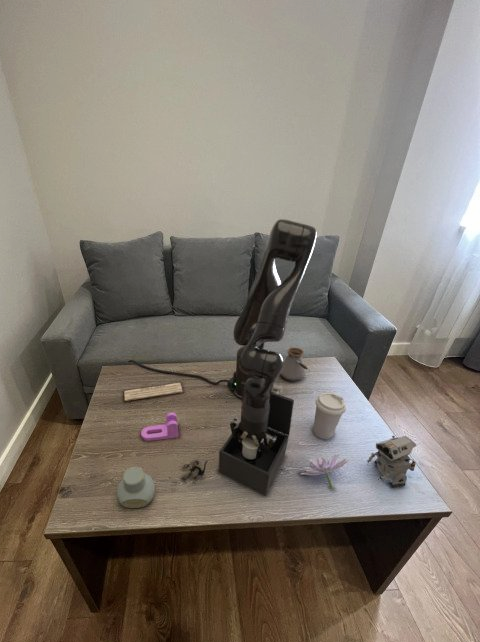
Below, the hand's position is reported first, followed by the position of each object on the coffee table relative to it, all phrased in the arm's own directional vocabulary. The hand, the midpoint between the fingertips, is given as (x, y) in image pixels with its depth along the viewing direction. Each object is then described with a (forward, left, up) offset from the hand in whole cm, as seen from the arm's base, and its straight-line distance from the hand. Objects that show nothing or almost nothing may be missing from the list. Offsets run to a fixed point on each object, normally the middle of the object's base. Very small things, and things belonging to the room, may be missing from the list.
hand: (250, 452), depth 96 cm
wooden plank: (-51, +5, -8) cm, 52 cm away
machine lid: (-1, +8, +11) cm, 14 cm away
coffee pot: (-10, +49, -8) cm, 51 cm away
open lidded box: (0, +2, -8) cm, 8 cm away
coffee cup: (+11, +30, -8) cm, 33 cm away
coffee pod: (0, 0, 0) cm, 0 cm away
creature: (-12, -13, -8) cm, 19 cm away
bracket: (-32, -9, -8) cm, 34 cm away
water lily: (+18, +13, -8) cm, 24 cm away
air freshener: (-19, -29, -8) cm, 36 cm away
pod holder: (0, 0, -8) cm, 8 cm away
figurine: (+32, +25, -8) cm, 42 cm away
